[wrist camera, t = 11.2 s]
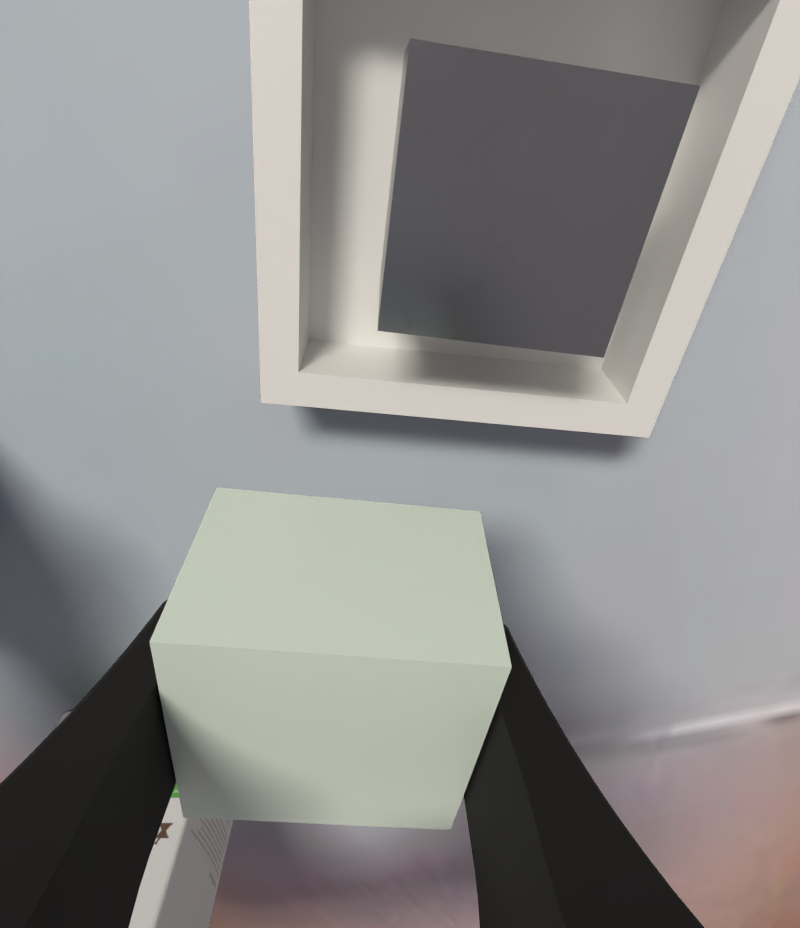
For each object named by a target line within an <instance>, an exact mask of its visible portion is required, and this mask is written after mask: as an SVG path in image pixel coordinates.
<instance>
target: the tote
mask: <svg viewBox="0 0 800 928" xmlns="http://www.w3.org/2000/svg"><path fill="white" fill-rule="evenodd" d="M249 19H250V53H251V86H252V119H253V153H254V186H255V219H256V253H257V286H258V319H259V353H260V386H261V403H272V404H283V405H294V406H305V407H316V408H327V409H338V410H349V411H360V412H371V413H382V414H393V415H404V416H415V417H426V418H437V419H448V420H459V421H470V422H481V423H492V424H503V425H514V426H525V427H536V428H547V429H558V430H569V431H580V432H591V433H602V434H613V435H624V436H635V437H646V438H649V436H650V434H651V431H652V429H653V427H654V424H655V422H656V420H657V417H658V415H659V412H660V410H661V408H662V405H663V403H664V401H665V398H666V396H667V393H668V391H669V389H670V386H671V384H672V381H673V379H674V377H675V374H676V372H677V370H678V367H679V365H680V362H681V360H682V358H683V355H684V353H685V351H686V348H687V346H688V343H689V341H690V339H691V336H692V334H693V331H694V329H695V327H696V324H697V322H698V320H699V317H700V315H701V312H702V310H703V308H704V305H705V303H706V300H707V298H708V296H709V293H710V291H711V289H712V286H713V284H714V281H715V279H716V277H717V274H718V272H719V270H720V267H721V265H722V262H723V260H724V258H725V255H726V253H727V250H728V248H729V246H730V243H731V241H732V239H733V236H734V234H735V231H736V229H737V227H738V224H739V222H740V219H741V217H742V215H743V212H744V210H745V208H746V205H747V203H748V200H749V198H750V196H751V193H752V191H753V189H754V186H755V184H756V181H757V179H758V177H759V174H760V172H761V169H762V167H763V165H764V162H765V160H766V158H767V155H768V153H769V150H770V148H771V146H772V143H773V141H774V139H775V136H776V134H777V131H778V129H779V127H780V124H781V122H782V119H783V117H784V115H785V112H786V110H787V108H788V105H789V103H790V100H791V98H792V96H793V93H794V91H795V88H796V86H797V84H798V81H799V79H800V0H249ZM410 38H411V39H418V40H424V41H430V42H436V43H442V44H448V45H454V46H460V47H466V48H472V49H479V50H485V51H491V52H497V53H503V54H509V55H515V56H521V57H527V58H534V59H540V60H546V61H552V62H558V63H564V64H570V65H576V66H582V67H588V68H595V69H601V70H607V71H613V72H619V73H625V74H631V75H637V76H643V77H649V78H656V79H662V80H668V81H674V82H680V83H686V84H692V85H698V86H700V88H699V91H698V94H697V97H696V100H695V102H694V105H693V108H692V111H691V114H690V116H689V119H688V122H687V125H686V128H685V131H684V133H683V136H682V139H681V142H680V145H679V147H678V150H677V153H676V156H675V159H674V161H673V164H672V167H671V170H670V173H669V176H668V178H667V181H666V184H665V187H664V190H663V192H662V195H661V198H660V201H659V204H658V207H657V209H656V212H655V215H654V218H653V221H652V223H651V226H650V229H649V232H648V235H647V237H646V240H645V243H644V246H643V249H642V252H641V254H640V257H639V260H638V263H637V266H636V268H635V271H634V274H633V277H632V280H631V282H630V285H629V288H628V291H627V294H626V297H625V299H624V302H623V305H622V308H621V311H620V313H619V316H618V319H617V322H616V325H615V327H614V330H613V333H612V336H611V339H610V342H609V344H608V347H607V350H606V353H605V356H604V358H601V357H593V356H585V355H576V354H568V353H559V352H551V351H543V350H534V349H526V348H518V347H509V346H501V345H492V344H484V343H476V342H467V341H459V340H451V339H442V338H434V337H425V336H417V335H409V334H400V333H392V332H383V331H377V330H378V311H379V292H380V273H381V263H382V254H383V245H384V236H385V226H386V217H387V208H388V199H389V190H390V180H391V171H392V162H393V153H394V143H395V134H396V125H397V116H398V106H399V97H400V88H401V79H402V69H403V60H404V52H405V49H406V47H407V44H408V42H409V40H410Z"/></svg>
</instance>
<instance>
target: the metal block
mask: <svg viewBox="0 0 800 928" xmlns="http://www.w3.org/2000/svg"><path fill="white" fill-rule="evenodd" d="M699 88H700V86H698V85H692V84H686V83H680V82H674V81H668V80H662V79H656V78H649V77H643V76H637V75H631V74H625V73H619V72H613V71H607V70H601V69H595V68H588V67H582V66H576V65H570V64H564V63H558V62H552V61H546V60H540V59H534V58H527V57H521V56H515V55H509V54H503V53H497V52H491V51H485V50H479V49H472V48H466V47H460V46H454V45H448V44H442V43H436V42H430V41H424V40H418V39H411V38H410V40H409V42H408V44H407V47H406V49H405V52H404V60H403V69H402V79H401V88H400V97H399V106H398V116H397V125H396V134H395V143H394V153H393V162H392V171H391V180H390V190H389V199H388V208H387V217H386V226H385V236H384V245H383V254H382V263H381V273H380V292H379V311H378V330H377V331H383V332H392V333H400V334H409V335H417V336H425V337H434V338H442V339H451V340H459V341H467V342H476V343H484V344H492V345H501V346H509V347H518V348H526V349H534V350H543V351H551V352H559V353H568V354H576V355H585V356H593V357H601V358H604V356H605V353H606V350H607V347H608V344H609V342H610V339H611V336H612V333H613V330H614V327H615V325H616V322H617V319H618V316H619V313H620V311H621V308H622V305H623V302H624V299H625V297H626V294H627V291H628V288H629V285H630V282H631V280H632V277H633V274H634V271H635V268H636V266H637V263H638V260H639V257H640V254H641V252H642V249H643V246H644V243H645V240H646V237H647V235H648V232H649V229H650V226H651V223H652V221H653V218H654V215H655V212H656V209H657V207H658V204H659V201H660V198H661V195H662V192H663V190H664V187H665V184H666V181H667V178H668V176H669V173H670V170H671V167H672V164H673V161H674V159H675V156H676V153H677V150H678V147H679V145H680V142H681V139H682V136H683V133H684V131H685V128H686V125H687V122H688V119H689V116H690V114H691V111H692V108H693V105H694V102H695V100H696V97H697V94H698V91H699Z"/></svg>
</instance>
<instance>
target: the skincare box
mask: <svg viewBox="0 0 800 928" xmlns="http://www.w3.org/2000/svg"><path fill="white" fill-rule="evenodd" d="M71 712H72V711H68V712H65V713H64V714H63V715H62V716H61V718H60V720H59V722H58V724H57V726H58V725H59V724H60V723H61V722H62V721H63V720H64V719H65V718H66V717H67V716H68V715H69V714H70V713H71ZM57 726H56V727H57ZM232 824H233V820H225V819H203V818H183V814H182V809H181V804H180V799H179V793H178V788H177V783H176V784H175V787H174V790H173V793H172V795H171V798H170V801H169V804H168V806H167V809H166V812H165V815H164V818H163V820H162V823H161V826H160V829H159V831H158V834H157V837H156V840H155V842H154V845H153V848H152V851H151V854H150V856H149V859H148V863H147V866H146V869H145V872H144V875H143V878H142V881H141V884H140V887H139V891H138V895H137V898H136V902H135V906H134V909H133V913H132V917H131V920H130V924H129V928H209V923H210V919H211V915H212V910H213V906H214V902H215V897H216V893H217V889H218V884H219V880H220V875H221V871H222V866H223V862H224V858H225V853H226V849H227V845H228V841H229V837H230V832H231V828H232Z"/></svg>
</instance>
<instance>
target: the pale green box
mask: <svg viewBox="0 0 800 928" xmlns="http://www.w3.org/2000/svg"><path fill="white" fill-rule="evenodd" d="M150 647H151V653H152V658H153V663H154V668H155V673H156V679H157V684H158V689H159V694H160V700H161V705H162V710H163V715H164V720H165V726H166V731H167V736H168V741H169V746H170V752H171V757H172V762H173V767H174V773H175V778H176V783H177V788H178V793H179V799H180V804H181V809H182V814H183V818H203V819H225V820H247V821H268V822H290V823H312V824H334V825H355V826H377V827H399V828H420V829H442V830H451V828H452V825H453V822H454V820H455V817H456V814H457V812H458V809H459V806H460V804H461V801H462V798H463V796H464V793H465V790H466V788H467V785H468V782H469V780H470V777H471V774H472V772H473V769H474V766H475V764H476V761H477V758H478V756H479V753H480V750H481V748H482V745H483V742H484V740H485V737H486V734H487V732H488V729H489V726H490V724H491V721H492V718H493V716H494V713H495V710H496V708H497V705H498V702H499V700H500V697H501V694H502V692H503V689H504V686H505V684H506V681H507V678H508V676H509V673H510V670H511V668H512V666H511V661H510V656H509V651H508V646H507V641H506V636H505V632H504V627H503V622H502V617H501V612H500V607H499V602H498V597H497V592H496V588H495V583H494V578H493V573H492V568H491V563H490V558H489V553H488V548H487V544H486V539H485V534H484V529H483V524H482V519H481V514H480V511H469V510H458V509H447V508H436V507H425V506H414V505H403V504H392V503H381V502H371V501H360V500H349V499H338V498H327V497H316V496H305V495H294V494H283V493H272V492H261V491H250V490H239V489H228V488H216V490H215V493H214V495H213V497H212V500H211V502H210V504H209V507H208V509H207V511H206V513H205V516H204V518H203V520H202V523H201V525H200V527H199V529H198V532H197V534H196V536H195V539H194V541H193V543H192V545H191V548H190V550H189V552H188V555H187V557H186V559H185V561H184V564H183V566H182V568H181V571H180V573H179V575H178V578H177V580H176V582H175V584H174V587H173V589H172V591H171V594H170V596H169V598H168V600H167V603H166V605H165V607H164V610H163V612H162V614H161V616H160V619H159V621H158V623H157V626H156V628H155V630H154V632H153V635H152V637H151V639H150Z"/></svg>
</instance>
